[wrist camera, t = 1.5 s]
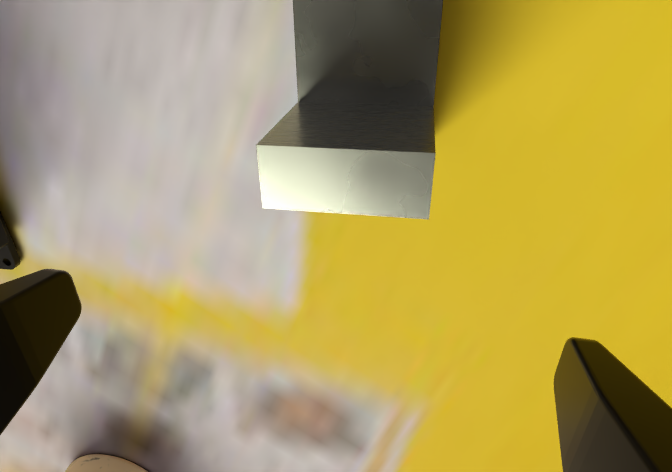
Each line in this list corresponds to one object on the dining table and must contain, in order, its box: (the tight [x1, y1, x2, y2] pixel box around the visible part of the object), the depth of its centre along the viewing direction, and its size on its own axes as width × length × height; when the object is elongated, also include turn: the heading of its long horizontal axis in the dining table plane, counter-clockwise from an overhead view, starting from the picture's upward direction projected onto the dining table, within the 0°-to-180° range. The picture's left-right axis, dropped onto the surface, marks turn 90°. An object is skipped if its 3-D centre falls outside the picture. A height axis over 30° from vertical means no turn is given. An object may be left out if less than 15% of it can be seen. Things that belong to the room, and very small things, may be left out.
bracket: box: [256, 0, 443, 219], centre depth 15 cm, size 8×5×7 cm, turn 1°
